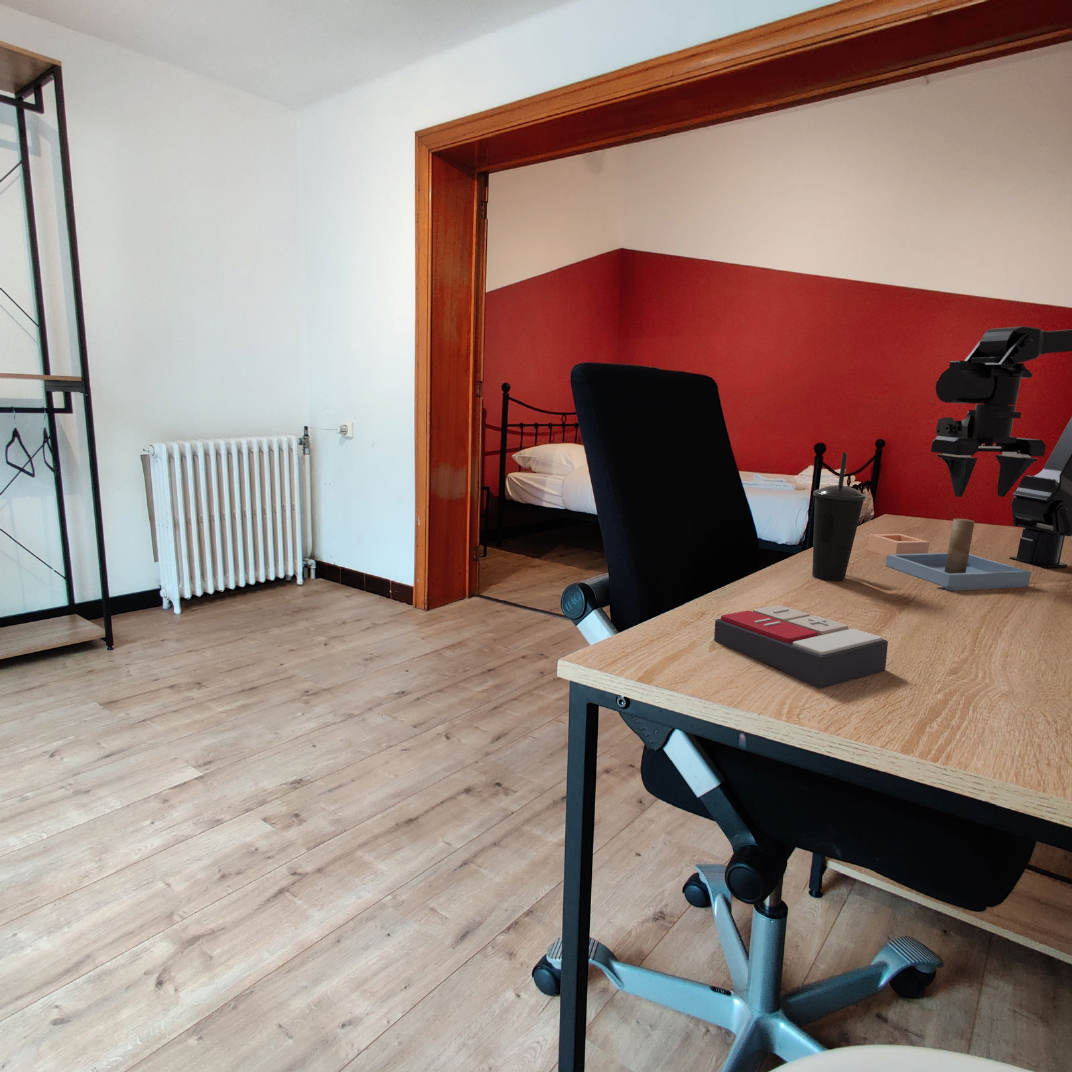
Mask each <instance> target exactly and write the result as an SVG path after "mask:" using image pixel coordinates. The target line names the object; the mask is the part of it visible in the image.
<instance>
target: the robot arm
mask: <svg viewBox="0 0 1072 1072" xmlns="http://www.w3.org/2000/svg"><path fill="white" fill-rule="evenodd" d="M1066 352H1067V353H1068V352H1072V329H1061V330H1043V329H1041V328H1038V327H1033V326H1032V327H1031V326H1026V325H1025V326H1023V325H1022V326H1010V327H998V328H997V327H994V328H990V329H987V330H985V332H984V334H983V335H982V336H981V339H980V341H978V342H977V344H976V345H975V346H974V347H973V349H972V350H971V351H970V352H969V354H968V355H967V356H966V358H965V359H964V360H950V362H949V365H948V366H949V367H948V368H947V369H945V370H944V371H943V372H942V373H941V374H940V375H939V377H938V380H937V381H936V382H935V394H936V396H937V398H938V399H939V400H940V401H941V402H943V403H945V404H946V403H947V404H967V405H968V404H970V405H971V404H972V405H975V408H974V409H968V411H967V413H966V417H965V418H964V419H962V420H955V419H954V418H953V417H952V416H950V417H946V416H945V417H941V418H938V419H937V423H936V428H935V429H936V430H935V435H936V437H935V438H934V439H933V440H932V443H931V447H930V448H931V449H930V452H931V453H936V457H937V458H940V459H941V460H942V461H943V462H944V463H945V464H946V466H947V469H948V471H949V475H950V476H949V477H950V480H951V484H952V489H953V493H954V496H955V497H956V498H957V497H958V498H962V497H963V495H964V493H965V491H966V489H967V486H968V484H969V482H970V479H971V477H972V474H973V471H974V469H975V465H976V464H977V460H978V458H977V457H972V456H975V454H977V452H982V453H983V452H986V453H989V452H991V453H995V452H996V453H1001V454H995V458H996V460H997V462H998V463H999V471H998V472H999V473H998V480H997V481H998V482H997V493H996V494H997V496H998V497H1000V498H1004V497H1006V495H1007V494H1008V493H1009V491H1010V490H1011V489H1012V488H1013V486H1014V485H1015V484H1016V483H1017V481H1018V480H1019V479H1020V478H1021V476H1022V475H1023V474H1024V473H1025V472H1026V471H1027V469H1029V468H1030V466H1032V464H1034V463H1036V462H1038V460H1039V459H1038V458H1036V457H1040V458H1041V457H1042V458H1043V457H1045V453H1046V448H1047V445H1046V443H1045V442H1044V441H1043V440H1042V439H1036V438H1026V437H1018V436H1011V435H1012V430H1013V425H1014V420H1015V419H1021V415H1022V412H1021V411H1016V408H1017V403H1018V399H1019V398H1018V397H1019V392H1020V386H1021V381H1022V379H1031V378H1032V377H1033V374H1032V372H1031V371H1030V370H1029V369H1028V368H1027V367H1026V365H1025V363H1026V362H1029V361H1032V360H1036V359H1038V358H1039V357H1040V356H1042V355H1046V354H1054V353H1055V354H1056V353H1066ZM1033 457H1034V458H1033ZM1012 496H1013V497H1012V501H1011V504H1010V506H1011V512H1012V522H1013V523H1012V524H1013V527H1018V528H1019V527H1020V528H1023V529H1022V532H1021V533H1022V534H1021V537H1020V538H1019V541H1018V542H1019V543H1018V547H1017V553H1016V556H1009V558H1008V559H1009V560H1011V561H1012V560H1013V561H1016V562H1020V563H1022V564H1027V565H1029V566H1034V567H1038V568H1041V569H1045V568H1046V569H1048V568H1051V569H1052V568H1068V565H1069V564H1068V563H1064V562H1061V558H1062V551H1063V549H1064V544H1065V543H1064V542H1065V537H1072V416H1070V419H1069V421H1068V422H1067V425H1066V426H1065V428H1064V430H1063V432H1062V434H1061V435H1060V437H1059V439H1058V441H1057V443H1056V444H1055V446H1054V448H1053V450H1052V451H1051V453H1050V455H1049V457H1048V459H1047V461H1046V462H1045V464H1044V466H1043V468H1042V469H1041V471H1039V472H1038V473H1036V474H1035V475H1024V476H1023V477H1022V478H1021V479H1020V483H1019V485H1018V487H1017V489H1016V490H1015V491H1014V492H1013V493H1012Z"/></svg>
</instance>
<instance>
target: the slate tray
mask: <svg viewBox="0 0 1072 1072" xmlns="http://www.w3.org/2000/svg"><path fill="white" fill-rule="evenodd" d="M947 553H948V552H933V553H932V552H930V553H929V552H928V553H922V554H890V555H887V557H886V560H885V567H886V568H889V569H893V570H895V571H898V572H901V573H904V574H906V575H909V576H913V577H914V578H915V577H916V578H919V579H921V580H923V581H927V582H930V583H932V584H935V585H937V586H938V585H939V586H940V587H939V586H938V587H937V588H938V589H941V590H943V591H946V592H948V591H949V592H951V591H968V590H970V591H971V590H991V589H1010V588H1011V589H1012V588H1015V589H1016V588H1028V587H1029V585H1030V580H1031V579H1030V578H1031V574H1032V571H1030V570H1026V569H1023V568H1019V567H1016V566H1012V565H1009V564H1005V563H1003V562H998V561H994V560H991V559H988V558H984V557H980V556H977V555H974V554H971V553H969V557H968V563H967V568H966V573H951V574H949V573H946V572H944V571H945V565H946V559H947Z"/></svg>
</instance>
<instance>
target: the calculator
mask: <svg viewBox="0 0 1072 1072" xmlns="http://www.w3.org/2000/svg"><path fill="white" fill-rule="evenodd" d="M713 637H714V638H713V641H714V642H716V643H718V644H720V645H721V646H722V645H723V646H725V647H727V648H729V649H732V650H733V651H736V652H738V653H740V654H742V655H745V656H747V657H749V658H752V659H753V660H755V661H758V662H761V663H763V664H764V665H765V664H766V665H768V666H771V667H773V668H775V669H778V670H781V671H783V672H784V674H786V675H787V676H788V675H789V676H790V677H792V678H794V679H796V680H799V681H801V682H803V683H806V684H808V685H810V686H812V687H814V688H817V689H826V688H829V687H834V686H836V685H840V684H844V683H847V682H850V681H854V680H859V679H861V678H864V677H868V676H869V677H870V676H872V675H876V674H879V673H883V672H885V671H886V665H887V655H888V648H889V647H888V645H889V641H888V640H886V639H883V637H882V636H880V635H876V634H873V633H870V632H868V631H867V632H866V631H864V630H861V629H856V628H849V625H848V624H846V623H842V622H839V621H835V620H832V619H828V618H826V617H822V616H818V615H810V613H808V612H804V611H802V610H801V611H800V610H797V609H794V608H791V607H788V606H784V605H779V604H776V605H771V606H764V607H759V608H755V609H753V610H743V611H738V612H733V613H725V614H722V615H720V618H716V619H715V621H714V634H713Z"/></svg>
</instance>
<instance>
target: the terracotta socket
mask: <svg viewBox="0 0 1072 1072" xmlns="http://www.w3.org/2000/svg"><path fill="white" fill-rule="evenodd" d="M868 535H869V536H868V540H867V541H868V542H867V549H866V550H867V551H868V552H871V553H874V554H876V555H880V556H882V557H886V558H887V555H890V554H922V553H929V548H930V541H928V540H924V539H920V538H916V537H914V536H913V537H912V536H909V535H906V534H902V533H879V534H878V533H875V534H874V533H873V534H868Z"/></svg>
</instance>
